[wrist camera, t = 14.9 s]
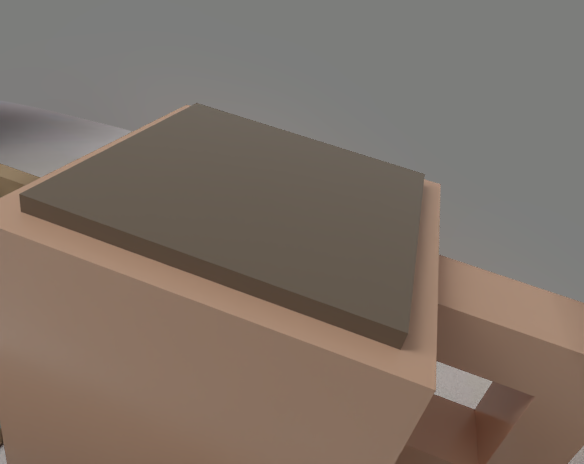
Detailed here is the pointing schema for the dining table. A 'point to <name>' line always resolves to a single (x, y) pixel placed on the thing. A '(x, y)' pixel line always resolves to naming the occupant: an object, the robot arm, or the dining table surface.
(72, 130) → the dining table surface
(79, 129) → the dining table surface
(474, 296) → the jug
